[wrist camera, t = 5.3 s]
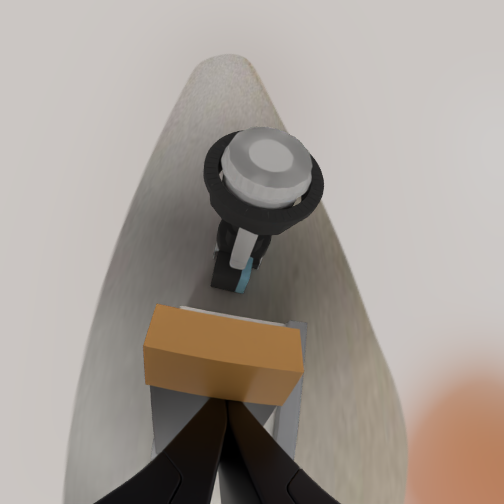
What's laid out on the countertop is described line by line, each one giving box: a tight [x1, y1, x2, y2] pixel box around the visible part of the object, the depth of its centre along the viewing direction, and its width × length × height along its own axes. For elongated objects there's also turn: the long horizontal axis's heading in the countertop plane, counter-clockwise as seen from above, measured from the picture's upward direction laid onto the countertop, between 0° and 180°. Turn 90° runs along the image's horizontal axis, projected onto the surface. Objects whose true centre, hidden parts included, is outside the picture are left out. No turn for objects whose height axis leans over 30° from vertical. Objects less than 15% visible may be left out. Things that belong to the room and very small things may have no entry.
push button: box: [204, 127, 324, 294], centre depth 18 cm, size 7×5×10 cm
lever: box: [143, 304, 304, 472], centre depth 10 cm, size 2×4×10 cm, turn 85°
